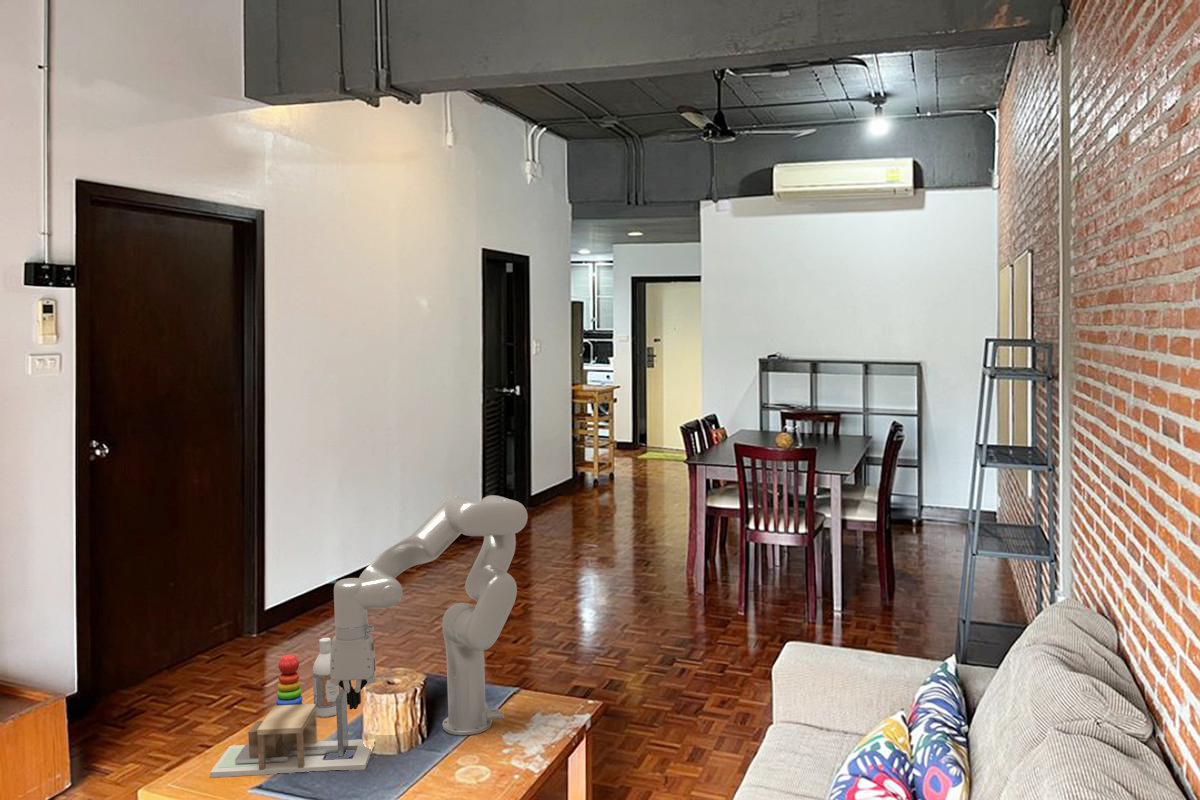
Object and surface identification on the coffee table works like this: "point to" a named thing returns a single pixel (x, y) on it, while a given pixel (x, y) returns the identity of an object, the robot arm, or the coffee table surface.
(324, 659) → the bath foam
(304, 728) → the tunnel
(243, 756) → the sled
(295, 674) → the stacking toy
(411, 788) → the coffee table surface
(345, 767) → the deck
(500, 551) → the robot arm
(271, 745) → the walnut block
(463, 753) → the coffee table surface
